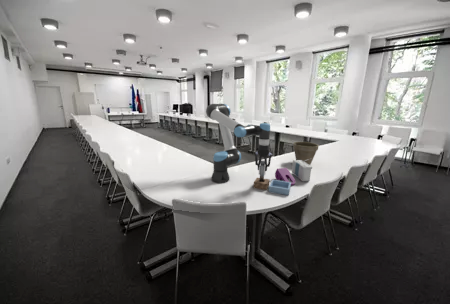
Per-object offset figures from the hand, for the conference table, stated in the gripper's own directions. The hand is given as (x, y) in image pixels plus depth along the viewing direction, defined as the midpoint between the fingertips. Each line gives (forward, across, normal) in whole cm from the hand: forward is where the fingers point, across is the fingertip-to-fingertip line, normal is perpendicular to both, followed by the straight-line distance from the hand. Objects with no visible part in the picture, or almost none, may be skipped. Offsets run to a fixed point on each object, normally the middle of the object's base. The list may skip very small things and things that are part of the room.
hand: (261, 174), depth 152 cm
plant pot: (+10, +28, +80) cm, 85 cm away
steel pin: (+7, 0, 0) cm, 7 cm away
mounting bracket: (+11, +16, +19) cm, 27 cm away
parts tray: (+10, +14, 0) cm, 17 cm away
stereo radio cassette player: (+10, +27, +34) cm, 45 cm away
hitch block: (+10, 0, 0) cm, 10 cm away
